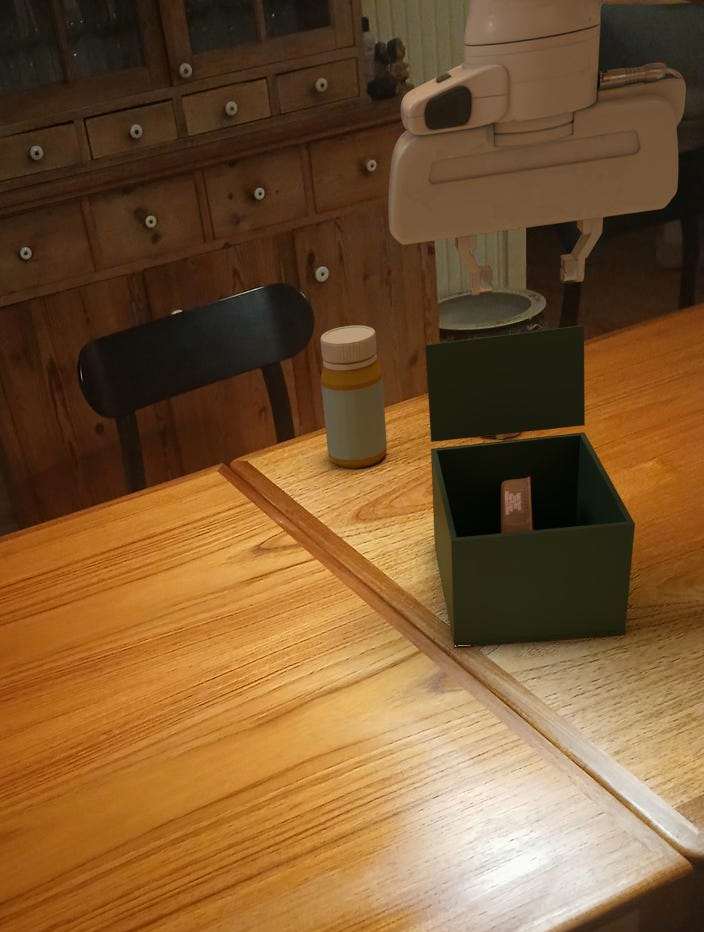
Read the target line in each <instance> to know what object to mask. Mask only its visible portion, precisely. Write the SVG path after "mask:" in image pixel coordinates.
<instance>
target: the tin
mask: <svg viewBox="0 0 704 932" xmlns="http://www.w3.org/2000/svg"><path fill="white" fill-rule="evenodd" d="M531 500H532V499H531V481H530V477H527V478H523V479H513V480H506V481H503V482H502V484H501V533H511V532H522V531H532V530H533V518H532V501H531Z"/></svg>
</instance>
